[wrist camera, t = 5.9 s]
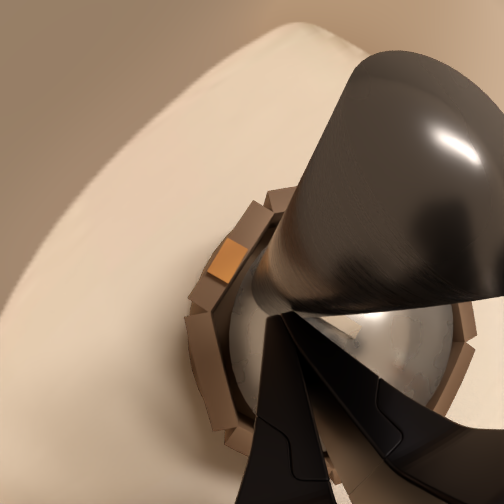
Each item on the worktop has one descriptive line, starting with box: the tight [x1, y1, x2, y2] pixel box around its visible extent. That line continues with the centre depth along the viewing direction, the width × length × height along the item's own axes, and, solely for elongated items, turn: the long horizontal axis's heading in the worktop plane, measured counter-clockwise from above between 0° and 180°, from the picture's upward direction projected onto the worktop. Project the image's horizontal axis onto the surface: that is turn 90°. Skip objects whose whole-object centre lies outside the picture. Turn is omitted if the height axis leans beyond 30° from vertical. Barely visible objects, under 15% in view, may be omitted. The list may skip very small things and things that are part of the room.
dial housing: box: [184, 186, 477, 485], centre depth 15 cm, size 17×17×4 cm
